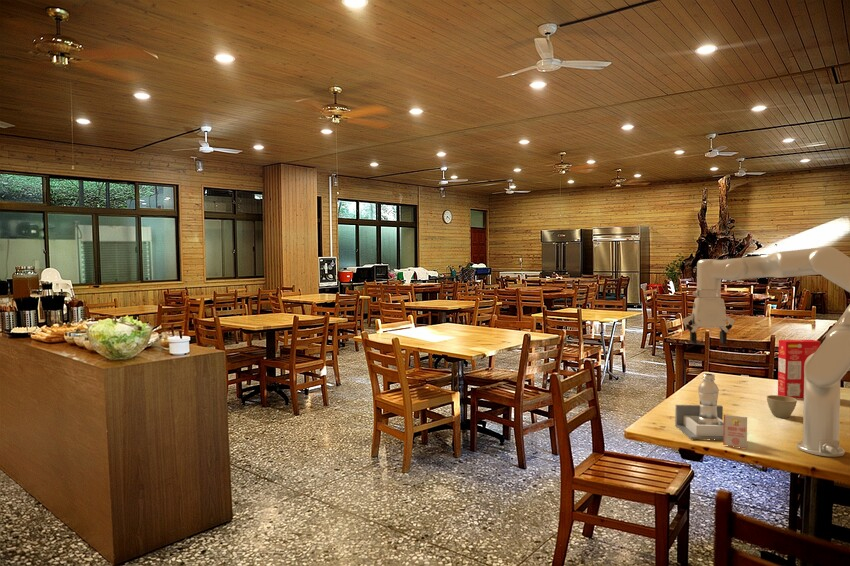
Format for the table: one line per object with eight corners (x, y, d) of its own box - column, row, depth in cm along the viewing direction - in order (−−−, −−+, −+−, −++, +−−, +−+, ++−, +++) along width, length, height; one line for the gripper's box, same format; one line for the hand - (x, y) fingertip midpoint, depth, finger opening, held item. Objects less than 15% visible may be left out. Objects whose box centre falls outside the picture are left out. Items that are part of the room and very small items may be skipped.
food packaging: (811, 395, 255) (812, 339, 254) (819, 398, 249) (820, 341, 248) (777, 395, 255) (778, 339, 254) (784, 398, 250) (786, 341, 249)
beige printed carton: (723, 442, 192) (723, 413, 192) (746, 445, 189) (747, 415, 188) (723, 446, 189) (723, 416, 188) (746, 449, 186) (747, 418, 185)
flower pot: (782, 420, 216) (782, 402, 216) (760, 414, 226) (760, 396, 226) (802, 418, 219) (803, 400, 219) (780, 412, 229) (780, 394, 228)
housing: (740, 441, 194) (740, 417, 193) (691, 440, 195) (691, 416, 195) (720, 427, 209) (720, 405, 209) (675, 426, 211) (675, 404, 211)
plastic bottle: (721, 433, 198) (722, 376, 197) (700, 432, 200) (700, 376, 199) (715, 428, 205) (716, 372, 204) (695, 427, 206) (696, 372, 205)
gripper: (686, 295, 197) (686, 344, 198) (739, 295, 195) (738, 345, 196) (679, 294, 205) (678, 341, 205) (729, 293, 203) (729, 341, 204)
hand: (708, 343), depth 201 cm, fingers open, 9 cm apart
